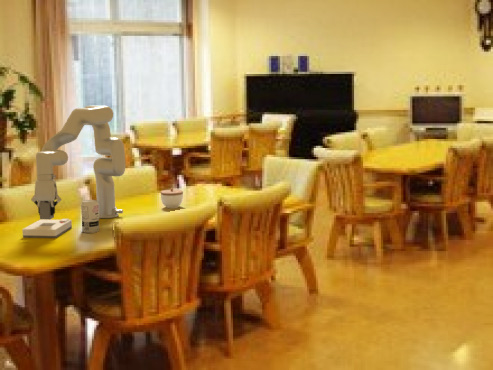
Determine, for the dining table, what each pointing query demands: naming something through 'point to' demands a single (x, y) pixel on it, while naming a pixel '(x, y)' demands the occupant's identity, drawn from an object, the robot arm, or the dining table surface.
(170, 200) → the lidded bowl
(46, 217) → the plug
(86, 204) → the supplement can
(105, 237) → the dining table surface
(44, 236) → the socket
